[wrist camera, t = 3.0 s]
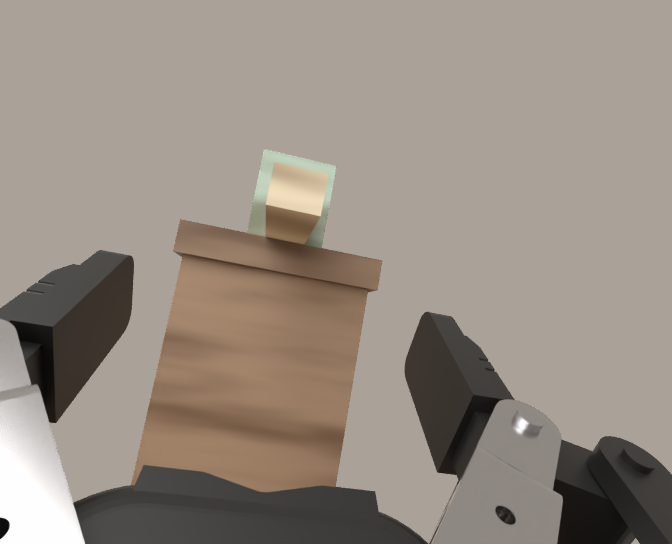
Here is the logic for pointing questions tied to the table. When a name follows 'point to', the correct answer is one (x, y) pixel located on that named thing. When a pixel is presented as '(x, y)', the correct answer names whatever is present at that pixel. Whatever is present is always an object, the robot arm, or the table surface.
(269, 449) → the tool tower
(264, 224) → the mint and tan block
